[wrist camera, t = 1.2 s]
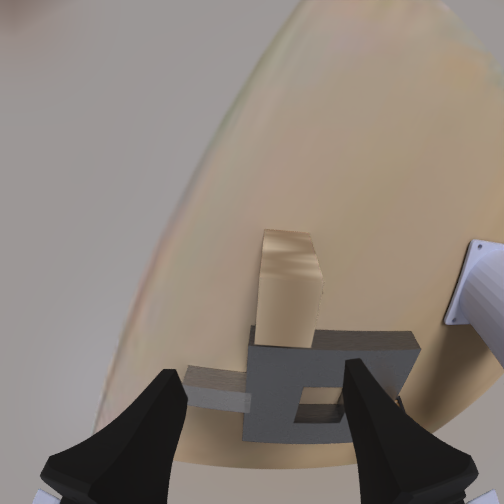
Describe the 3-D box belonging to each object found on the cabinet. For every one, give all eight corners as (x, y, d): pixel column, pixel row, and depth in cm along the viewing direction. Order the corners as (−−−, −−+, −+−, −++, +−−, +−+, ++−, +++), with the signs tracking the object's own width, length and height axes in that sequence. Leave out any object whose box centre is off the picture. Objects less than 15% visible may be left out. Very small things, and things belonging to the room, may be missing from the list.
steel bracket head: (411, 331, 22) (421, 349, 20) (366, 424, 28) (369, 440, 26) (183, 318, 23) (175, 336, 21) (195, 416, 29) (190, 433, 27)
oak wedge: (308, 232, 20) (324, 282, 13) (302, 284, 21) (310, 347, 15) (264, 229, 20) (259, 277, 14) (260, 281, 22) (254, 344, 15)
